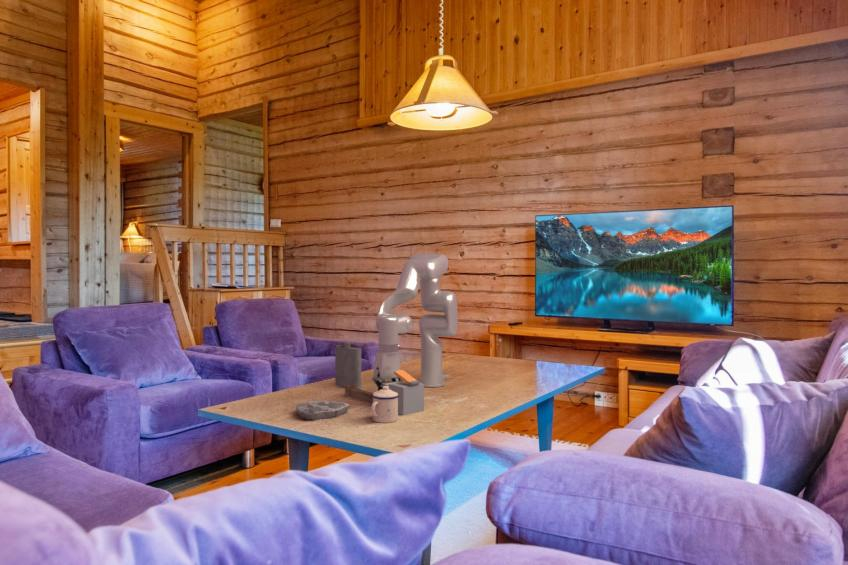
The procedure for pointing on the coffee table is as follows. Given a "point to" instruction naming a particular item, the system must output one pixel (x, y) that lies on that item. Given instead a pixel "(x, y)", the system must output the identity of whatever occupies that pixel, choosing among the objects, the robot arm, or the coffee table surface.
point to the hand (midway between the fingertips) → (387, 395)
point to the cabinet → (409, 397)
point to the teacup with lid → (385, 405)
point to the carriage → (387, 383)
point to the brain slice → (321, 409)
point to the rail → (358, 393)
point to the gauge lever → (406, 378)
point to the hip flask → (347, 365)
